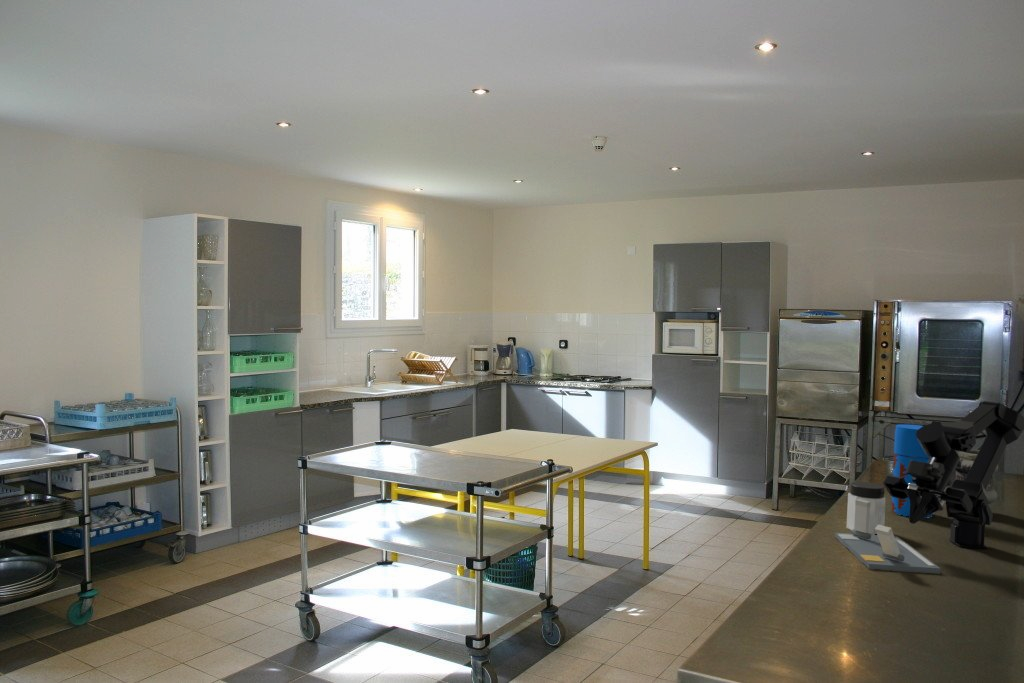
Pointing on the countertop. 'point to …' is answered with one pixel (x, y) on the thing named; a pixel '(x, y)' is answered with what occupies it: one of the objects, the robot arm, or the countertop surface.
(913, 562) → the switch panel
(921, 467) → the robot arm
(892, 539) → the lever
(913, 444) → the thermos
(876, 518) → the jar
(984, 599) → the countertop surface
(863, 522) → the lever
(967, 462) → the apothecary jar
